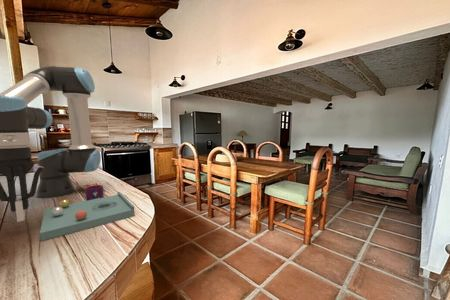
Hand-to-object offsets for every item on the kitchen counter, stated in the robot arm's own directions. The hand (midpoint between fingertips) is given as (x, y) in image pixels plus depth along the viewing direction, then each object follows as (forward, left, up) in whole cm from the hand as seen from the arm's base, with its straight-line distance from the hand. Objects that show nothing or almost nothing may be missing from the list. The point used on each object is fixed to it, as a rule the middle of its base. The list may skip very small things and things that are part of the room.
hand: (21, 219), depth 62 cm
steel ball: (0, +9, 0) cm, 9 cm away
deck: (0, +18, -4) cm, 18 cm away
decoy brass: (-9, +11, 0) cm, 14 cm away
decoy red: (+9, +15, 0) cm, 17 cm away
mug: (-19, +22, -4) cm, 29 cm away
